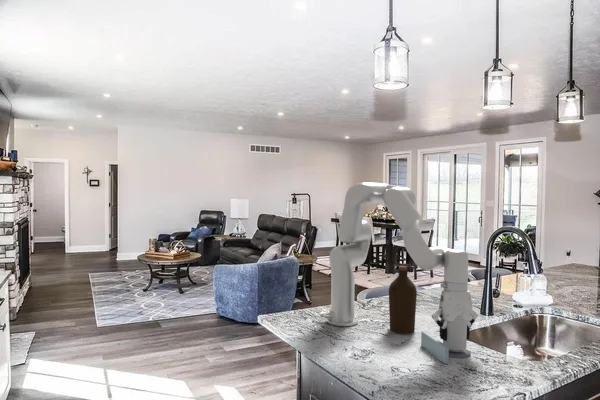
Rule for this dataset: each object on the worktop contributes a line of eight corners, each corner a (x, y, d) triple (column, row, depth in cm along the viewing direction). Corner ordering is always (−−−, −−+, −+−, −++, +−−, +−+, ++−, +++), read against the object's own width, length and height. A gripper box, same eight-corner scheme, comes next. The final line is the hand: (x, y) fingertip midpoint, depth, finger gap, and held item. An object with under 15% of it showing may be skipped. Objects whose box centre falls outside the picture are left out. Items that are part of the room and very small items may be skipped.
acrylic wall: (444, 363, 132) (445, 347, 131) (421, 345, 147) (421, 331, 147) (448, 363, 132) (448, 347, 132) (424, 345, 147) (424, 330, 147)
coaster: (448, 359, 135) (448, 357, 135) (433, 347, 145) (433, 346, 145) (477, 357, 137) (477, 356, 137) (460, 346, 147) (460, 345, 147)
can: (460, 344, 145) (461, 310, 145) (470, 352, 137) (471, 316, 137) (439, 344, 144) (440, 309, 144) (447, 352, 137) (448, 316, 137)
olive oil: (413, 336, 156) (414, 269, 156) (385, 332, 160) (386, 267, 160) (418, 328, 166) (419, 265, 165) (391, 324, 170) (392, 263, 170)
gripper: (437, 289, 135) (436, 344, 136) (485, 288, 138) (484, 341, 139) (426, 284, 143) (425, 336, 143) (472, 283, 146) (471, 333, 146)
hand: (454, 338), depth 141 cm, fingers closed on can, 7 cm apart
